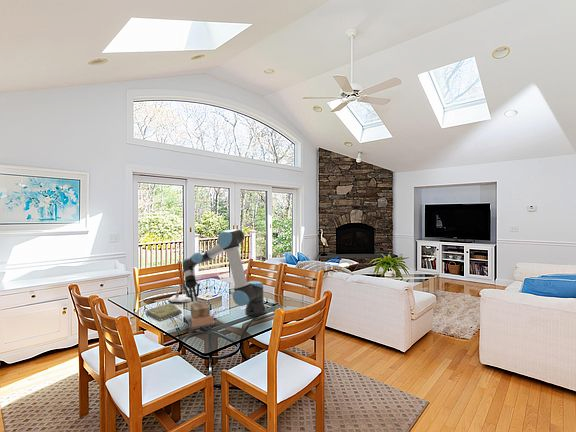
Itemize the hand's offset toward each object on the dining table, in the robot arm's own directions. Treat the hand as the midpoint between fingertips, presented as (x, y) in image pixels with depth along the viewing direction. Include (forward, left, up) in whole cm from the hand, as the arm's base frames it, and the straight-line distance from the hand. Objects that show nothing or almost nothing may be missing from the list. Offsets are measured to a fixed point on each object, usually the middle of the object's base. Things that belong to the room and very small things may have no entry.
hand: (195, 305), depth 227 cm
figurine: (+3, -38, -8) cm, 39 cm away
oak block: (0, +15, -6) cm, 16 cm away
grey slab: (0, +12, -7) cm, 14 cm away
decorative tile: (+19, -15, -8) cm, 25 cm away
